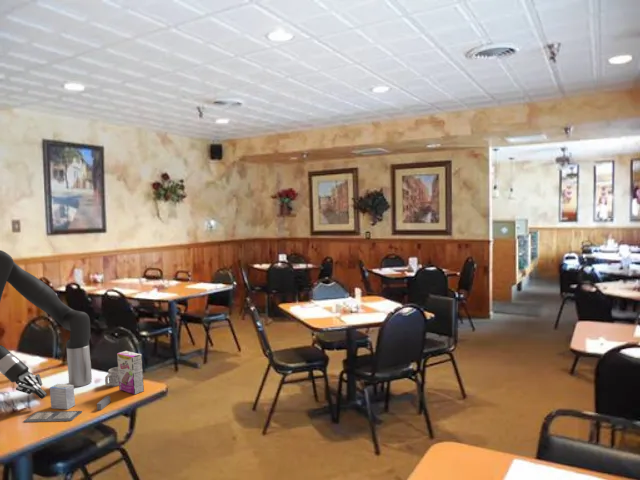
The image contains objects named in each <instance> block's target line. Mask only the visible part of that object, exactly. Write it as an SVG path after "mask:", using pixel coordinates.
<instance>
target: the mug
mask: <svg viewBox="0 0 640 480" xmlns="http://www.w3.org/2000/svg"><path fill="white" fill-rule="evenodd" d="M107 370H108V371H107V372H108V374H106V376H105V377H104V383H105V387H119V376H118V366H115V367H111V368H109V369H107Z"/></svg>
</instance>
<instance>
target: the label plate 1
mask: <svg viewBox="0 0 640 480" xmlns="http://www.w3.org/2000/svg"><path fill="white" fill-rule="evenodd" d="M59 411H60V410H59ZM59 411H36V412H34V413H33V414H31V415H30V416H29V417H27V418H26V419H24V420H23V422H24V423H34V422H35V423H37V422H38V423H40V422H46V423H47V422H49V421H47V420H48V419H50V418H51V417H52V416H54V415H55V414H56V413H58V412H59Z"/></svg>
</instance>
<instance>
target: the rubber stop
mask: <svg viewBox="0 0 640 480" xmlns="http://www.w3.org/2000/svg"><path fill="white" fill-rule="evenodd" d="M110 403H111V396H110V395H105V397H103V398H102V399H101V400H99V401H98V402H97V403H96V409H97V411H103V410H104V408H106V407H107V406H108V405H109V404H110Z"/></svg>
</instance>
